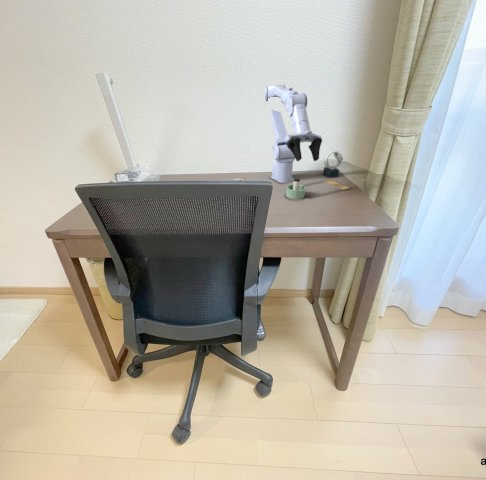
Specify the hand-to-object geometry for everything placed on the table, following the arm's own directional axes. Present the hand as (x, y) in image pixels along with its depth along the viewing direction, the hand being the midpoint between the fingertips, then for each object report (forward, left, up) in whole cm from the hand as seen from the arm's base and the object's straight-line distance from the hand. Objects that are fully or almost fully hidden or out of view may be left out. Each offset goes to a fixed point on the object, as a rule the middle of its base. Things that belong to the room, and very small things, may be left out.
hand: (308, 160), depth 93 cm
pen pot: (-2, -3, -14) cm, 15 cm away
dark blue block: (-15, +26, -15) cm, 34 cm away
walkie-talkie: (-19, -18, -15) cm, 30 cm away
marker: (-2, -3, -14) cm, 14 cm away
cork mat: (-4, +11, -14) cm, 19 cm away
